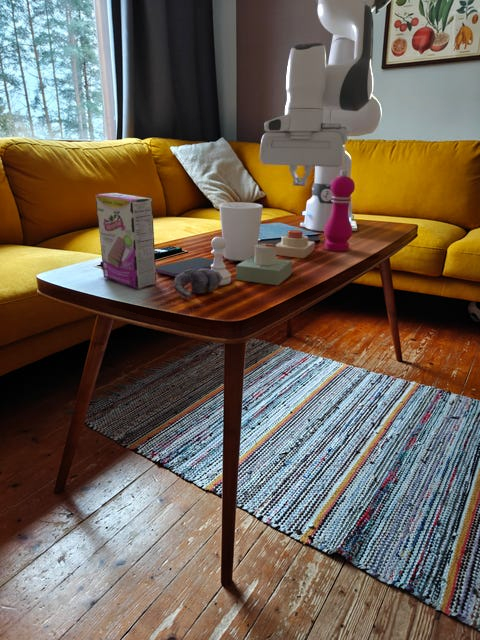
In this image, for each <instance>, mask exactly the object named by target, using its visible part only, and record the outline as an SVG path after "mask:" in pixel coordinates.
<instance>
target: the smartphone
mask: <svg viewBox="0 0 480 640" xmlns="http://www.w3.org/2000/svg"><path fill="white" fill-rule="evenodd" d="M213 263H214V258H213V259H212V258H207V257H202V256H197V257H192V258H187V259H183V260H179V261H174V262H170V263H165V264H159V265H156V274H157V273H158V274H164V275H167V276H171V277H176V276H177V275H179V274H180V273H182V272H184V271H187V270H190V269H194V270H199V269H202V268H205V269H211V265H212V264H213Z"/></svg>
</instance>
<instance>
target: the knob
mask: <svg viewBox="0 0 480 640" xmlns="http://www.w3.org/2000/svg"><path fill="white" fill-rule="evenodd" d="M276 248H277V246H276V244H273V243H258V244H256V245H255V256H254V263H256V264H258V265H273V264H275V263H276V259H277V255H276Z"/></svg>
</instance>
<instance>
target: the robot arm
mask: <svg viewBox="0 0 480 640" xmlns="http://www.w3.org/2000/svg"><path fill="white" fill-rule="evenodd" d="M391 1H392V0H315V2H316V3H317V16H318V20H319V22H320V23H321V25H322V26H323V27H324V29H325V30H326V31H327V32H328V33H330V34H332V39H331V45H330V50H329V57H328V62H327V53H326V52H327V51H326V45H325V44H323V43H322V42H311V43H299V44H296V45H294V46H292V47H291V49H290V51H289V55H288V61H287V69H286V79H285V91H286V103H285V106H284V114H283V115H281V116H277V117H275V118H272V119H270V120H266V121H265V122H264V126H263V127H264V128H263V129H264V131H265V132H264V134H263V135H262V137H261V140H260V147H259V161H260V163H261V164H262V165H268V166H270V165H271V166H289V167H288V168H289V170H288V171H289V173H290V175H291V177H292V179H293V180H292V185H293V186H296V187H297V186H298V187H306V186H307V185H308V183H307V182H308V178H309V176H310V175H311V173H312V172H313V167H314V178H313V179H314V180H313V181H314V182H313V183H312V186H311V195H312V196H311V197H310V198H309V199H308V200H307V201H306V205H305V210H304V211H302V216H304V221H302V222H300V223H299V227H302V228H306V229H308V230H311V231H316V232H317V231H318V232H324V230H325V227H326V224H327V222H328V221H329V219H330V217H331V214H332V210H333V202H332V201H331V200H332V196H333V193H332V192H331V189H330V187H331V183H332V181H333V180H334V179H335V178H337V177H340V176H341V175H340V172H341V171H342V170H346V171H347V172H348V174H347V177H350V178H351V174H352V164H353V161H352V160H353V159H352V157H351V155H350V154H349V152H347V151H346V143H347V141H348V137H360V136H365V135H370V134H373V133H374V132H375V131H376V130H377V129H378V127H379V125H380V123H381V120H382V115H383V114H382V113H383V112H382V107H381V103H380V101H378V98H376V97H375V96H374V95H373V91H374V76H373V55H374V53H373V51H374V16H373V11H374V13H375V15H379V14H380V13H381V10H382V9H384V8H385V7H387V6H388V4H389V3H390V2H391ZM299 166H300V167H304V168H303V171H304V172H305V173H304V174H303V176H302V177H299V176H298V174H297V172H296V171H298V167H299ZM352 202H353V201H351V203H349V208H348V216H349V220H350V223H351V226H352V232H357V231H358V226H357V221H356V220H354V218H355V215H354V214H353V206H354V204H353V203H352Z"/></svg>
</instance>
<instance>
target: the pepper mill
mask: <svg viewBox="0 0 480 640" xmlns="http://www.w3.org/2000/svg"><path fill="white" fill-rule="evenodd" d="M347 174H348V172H347V171H346V170H342V171H341V172H340V175H341V176H340V177H337V178H335V179H334V180H333V181H332V183H331V187H330V189H331V192H332V193H333V196H332V200H331V201H332V202H333V210H332V214H331V217H330V219H329V221H328V222H327V224H326V227H325V230H324V231H323V235H324V237H325V238H326V240H325V242H324V249H325V250H326V251H328V252H329V251H330V252H348V251H349V249H350V243H349V242H348V241H349V240H350V239H351V238H352V236H353V231H352V226H351V223H350V220H349V216H348V208H349V203H351V202H352V196H351V195H352V194H353V193H354V192H355V188H356V184H355V181H354V179H353V178H351V176H350V177H347Z"/></svg>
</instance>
